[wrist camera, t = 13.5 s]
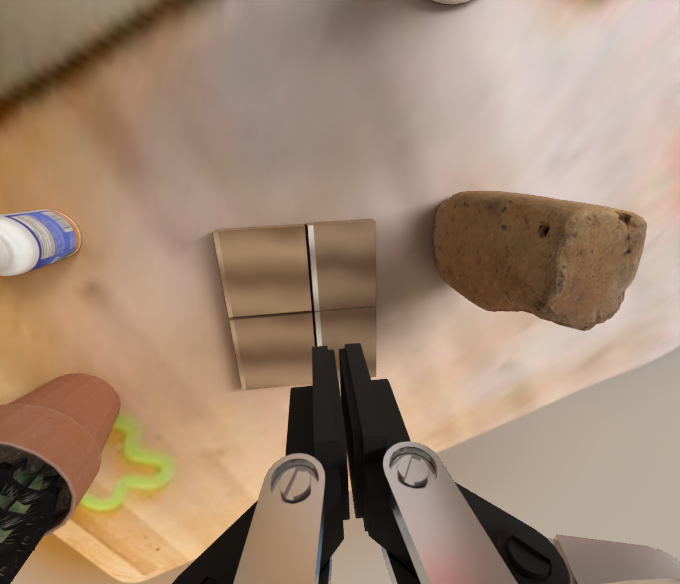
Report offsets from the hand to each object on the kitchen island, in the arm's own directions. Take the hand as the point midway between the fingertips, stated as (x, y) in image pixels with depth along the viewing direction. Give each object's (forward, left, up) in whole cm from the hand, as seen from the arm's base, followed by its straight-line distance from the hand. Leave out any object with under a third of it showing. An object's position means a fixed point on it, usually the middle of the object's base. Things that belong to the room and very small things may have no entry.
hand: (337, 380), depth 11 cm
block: (+1, +18, -29) cm, 34 cm away
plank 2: (+14, -6, -28) cm, 32 cm away
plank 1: (+4, -6, -28) cm, 29 cm away
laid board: (+9, +3, -28) cm, 30 cm away
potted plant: (+20, -32, -29) cm, 47 cm away
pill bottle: (-2, -28, -29) cm, 40 cm away
